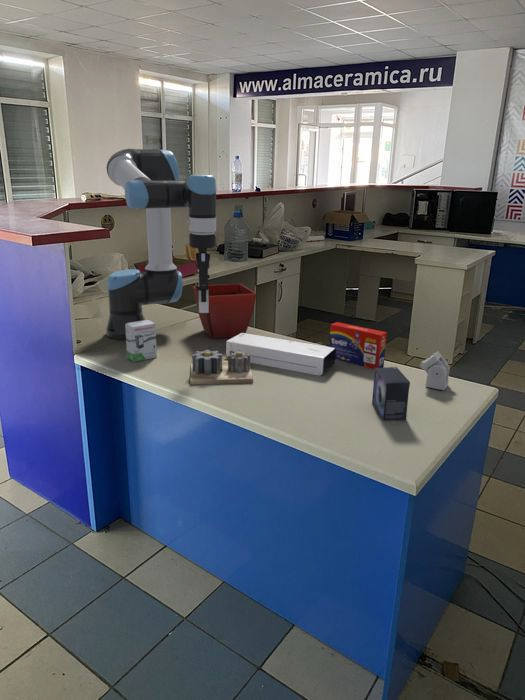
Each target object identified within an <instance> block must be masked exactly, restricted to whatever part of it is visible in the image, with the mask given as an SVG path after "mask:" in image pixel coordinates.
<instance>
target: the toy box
mask: <svg viewBox="0 0 525 700" xmlns="http://www.w3.org/2000/svg"><path fill="white" fill-rule="evenodd" d="M387 336H388V332H386V331H381V330H376V329H373V328H368V327H362V326H358V325H352V324H349V323H343V322H339V321H336V322H334V323H331V324H330V330H329V346H328V347H332V348H336V360H335V361H340V362H344V363H347V364H352V365H355V366H360V367H363V368H367V369H371V370H374V371H375V368H385V355H386V347H387V346H386V345H387Z"/></svg>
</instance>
